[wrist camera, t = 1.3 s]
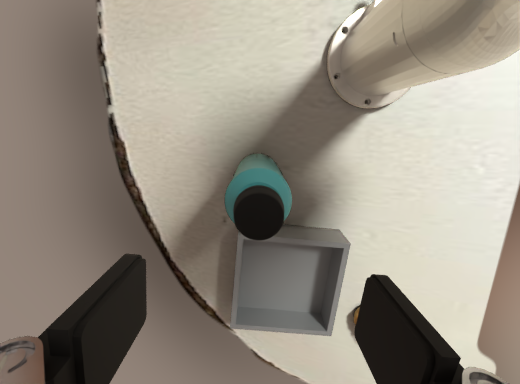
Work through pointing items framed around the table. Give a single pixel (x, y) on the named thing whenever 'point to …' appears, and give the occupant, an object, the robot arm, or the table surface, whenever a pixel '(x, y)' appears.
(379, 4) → the robot arm
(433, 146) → the table surface
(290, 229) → the bin
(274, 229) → the beverage bottle
